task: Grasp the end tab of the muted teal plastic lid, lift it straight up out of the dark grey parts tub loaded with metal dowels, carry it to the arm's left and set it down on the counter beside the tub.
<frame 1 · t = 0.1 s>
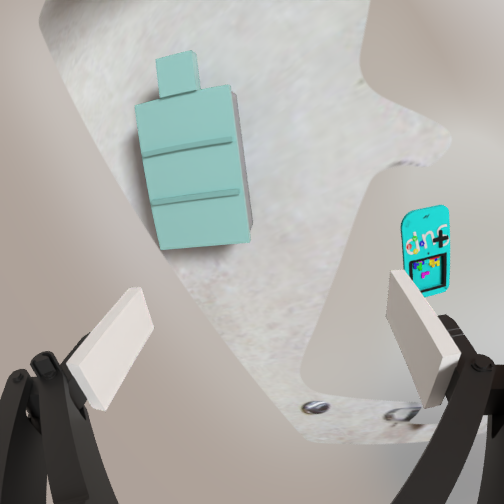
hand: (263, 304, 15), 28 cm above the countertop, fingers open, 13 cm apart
handheld gaming console: (425, 253, 42), on the countertop
lid: (205, 164, 40), resting on tub
tub: (205, 164, 40), on the countertop
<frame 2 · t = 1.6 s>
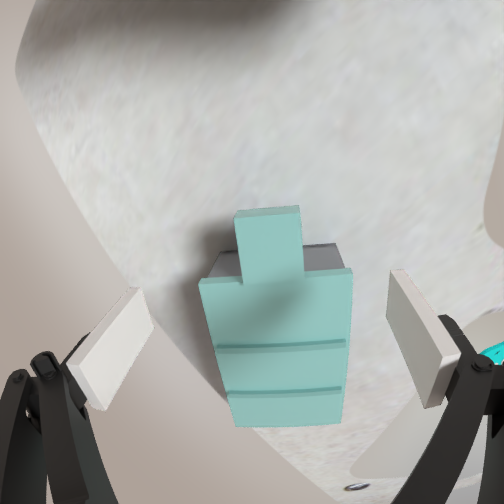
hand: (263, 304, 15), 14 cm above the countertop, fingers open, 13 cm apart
handheld gaming console: (485, 377, 34), on the countertop
lid: (284, 325, 32), resting on tub
tub: (284, 325, 32), on the countertop
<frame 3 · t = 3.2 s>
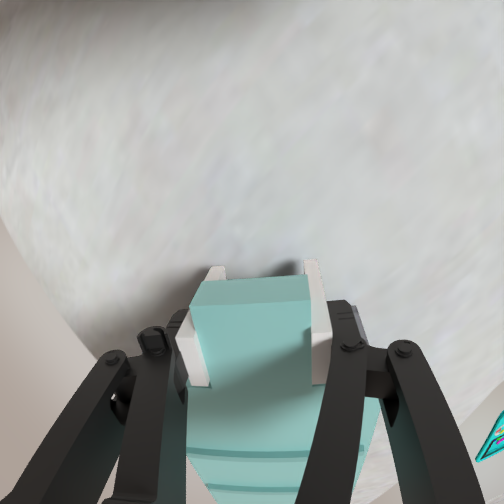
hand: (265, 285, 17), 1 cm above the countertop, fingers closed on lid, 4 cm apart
lid: (281, 401, 23), resting on tub, touching gripper
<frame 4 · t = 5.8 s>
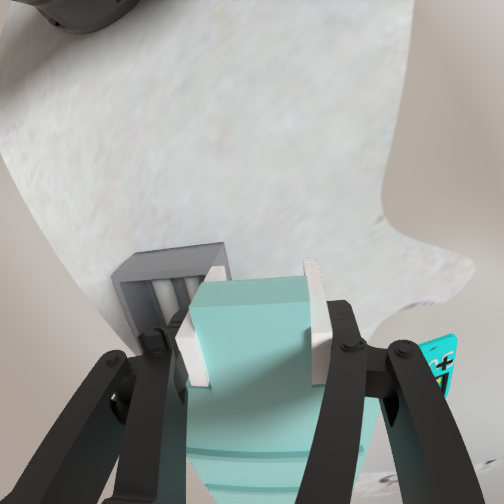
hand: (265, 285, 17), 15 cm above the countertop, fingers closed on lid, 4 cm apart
handheld gaming console: (427, 374, 38), on the countertop
lid: (280, 401, 23), point 14 cm above the countertop, touching gripper
tub: (195, 315, 37), on the countertop
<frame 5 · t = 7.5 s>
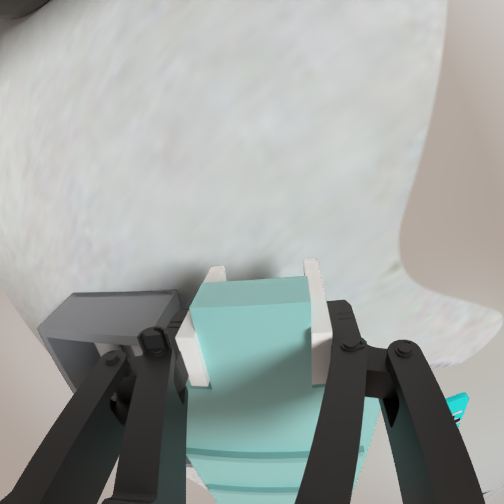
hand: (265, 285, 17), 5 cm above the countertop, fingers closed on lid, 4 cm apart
handheld gaming console: (429, 431, 30), on the countertop
lid: (281, 401, 23), point 3 cm above the countertop, touching gripper
tub: (148, 369, 28), on the countertop
when the fingers open (0 cm above the countertop, at t = 8.5 s): lid drops 4 cm, on the countertop.
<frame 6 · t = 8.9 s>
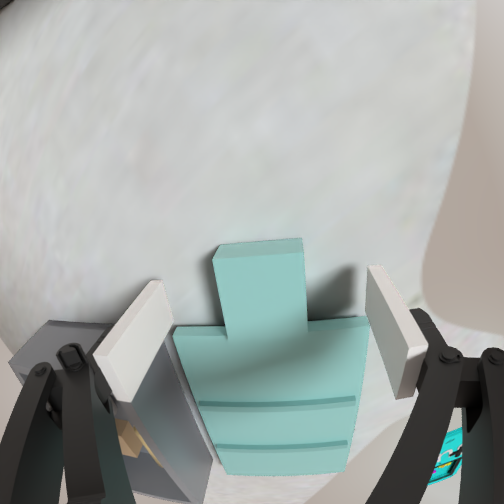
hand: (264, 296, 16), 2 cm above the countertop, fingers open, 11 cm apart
handheld gaming console: (437, 459, 25), on the countertop
lid: (282, 367, 27), on the countertop
tub: (134, 403, 24), on the countertop
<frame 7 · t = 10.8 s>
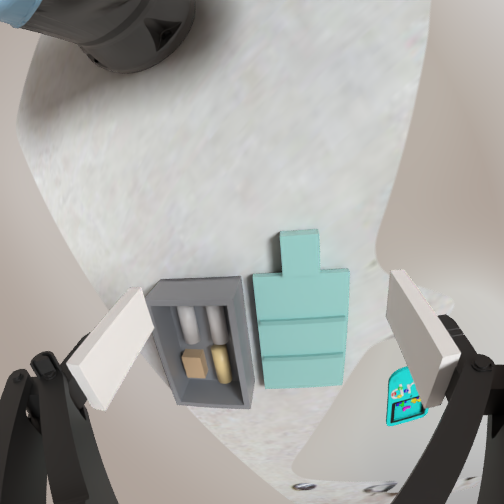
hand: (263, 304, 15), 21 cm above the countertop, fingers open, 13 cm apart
handheld gaming console: (409, 393, 44), on the countertop
lid: (301, 311, 45), on the countertop
tub: (210, 335, 42), on the countertop
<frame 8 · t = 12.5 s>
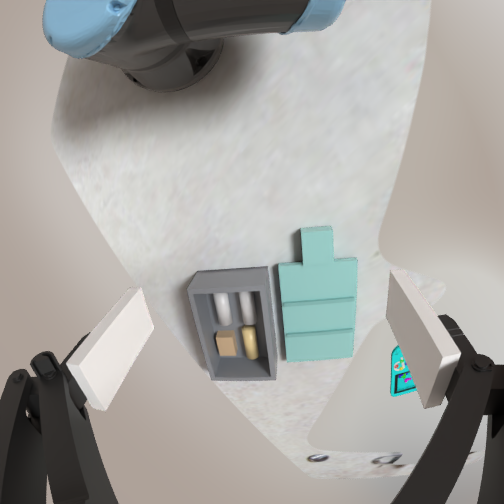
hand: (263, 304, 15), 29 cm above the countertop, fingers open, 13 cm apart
handheld gaming console: (409, 366, 52), on the countertop
lid: (316, 294, 53), on the countertop
tub: (240, 317, 50), on the countertop
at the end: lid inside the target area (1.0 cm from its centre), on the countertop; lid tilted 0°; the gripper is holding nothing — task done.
